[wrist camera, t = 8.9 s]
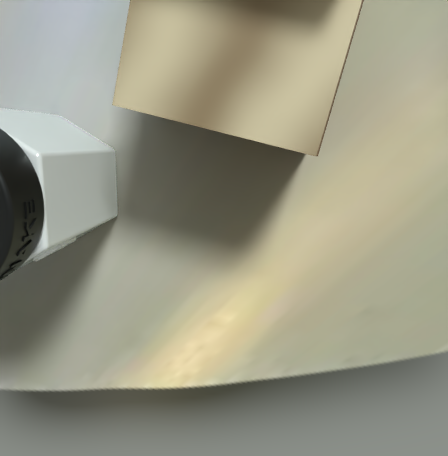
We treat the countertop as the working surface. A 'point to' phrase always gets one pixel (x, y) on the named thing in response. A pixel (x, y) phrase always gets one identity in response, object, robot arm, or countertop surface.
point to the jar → (50, 186)
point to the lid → (237, 65)
